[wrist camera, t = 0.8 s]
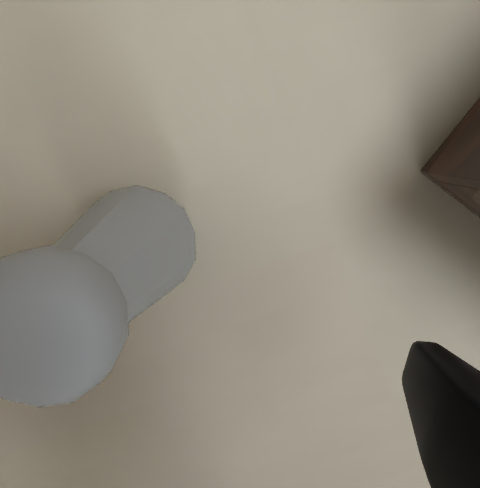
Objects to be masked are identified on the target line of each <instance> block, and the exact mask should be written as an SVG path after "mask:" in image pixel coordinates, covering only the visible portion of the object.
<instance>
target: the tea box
mask: <svg viewBox="0 0 480 488" xmlns="http://www.w3.org/2000/svg"><path fill="white" fill-rule="evenodd" d="M421 173H423V174H424V175H425V176H427V177H428V178H429V179H431V180H432V181H433V182H434V183H436V184H437V185H438V186H440V187H441V188H442V189H443V190H445V191H446V192H447V193H449V194H450V195H451V196H453V197H454V198H455V199H456V200H458V201H459V202H460V203H462V204H463V205H464V206H466V207H467V208H468V209H469V210H471V211H472V212H473V213H475V214H476V215H477V216H478V217H480V205H479V204H478V203H476V202H475V201H474V200H473V199H472V197H473V196H474V195H475V193H476V192H477V191H478V190H479V189H480V98H479V100H478V101H477V102H476V103H475V105H474V106H473V107H472V108H471V110H470V111H469V112H468V113H467V114H466V116H465V117H464V118H463V119H462V121H461V122H460V123H459V124H458V126H457V127H456V128H455V129H454V130H453V132H452V133H451V134H450V135H449V137H448V138H447V139H446V140H445V142H444V143H443V144H442V145H441V146H440V148H439V149H438V150H437V151H436V153H435V154H434V155H433V156H432V158H431V159H430V160H429V161H428V162H427V164H426V165H425V166H424V167H423V169H422V170H421Z"/></svg>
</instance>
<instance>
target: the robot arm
mask: <svg viewBox="0 0 480 488" xmlns="http://www.w3.org/2000/svg"><path fill="white" fill-rule="evenodd" d="M402 385H403V389H404V393H405V397H406V401H407V405H408V409H409V413H410V417H411V421H412V425H413V429H414V433H415V437H416V441H417V445H418V449H419V453H420V456H421V460H422V463H423V466H424V469H425V472H426V475H427V478H428V480H429V483H430V486H431V488H480V371H479V370H477V369H475V368H474V367H472V366H471V365H469V364H468V363H466V362H465V361H463V360H462V359H460V358H459V357H457V356H456V355H454V354H453V353H451V352H450V351H448V350H447V349H445V348H444V347H442V346H441V345H439V344H437V343H434V342H423V341H416V342H414V343H413V344H412V346H411V348H410V351H409V355H408V358H407V361H406V364H405V368H404V371H403V375H402Z"/></svg>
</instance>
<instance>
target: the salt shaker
mask: <svg viewBox="0 0 480 488" xmlns="http://www.w3.org/2000/svg"><path fill="white" fill-rule="evenodd" d="M195 259H196V251H195V231H194V229H193V227H192V225H191V222H190V220H189V218H188V216H187V214H186V211H185V209H184V208H182V207H181V206H180V205H179V204H177V203H176V202H175V201H174V200H172V199H171V198H170V197H169V196H167V195H166V194H165V193H162V192H159V191H155V190H152V189H148V188H144V187H141V186H132V187H127V188H123V189H118V190H113V191H110V192H109V193H108V194H106V195H105V196H104V197H102V198H101V199H100V200H99V201H97V202H96V203H95V204H94V205H92V206H91V207H90V208H89V209H88V210H87V211H86V212H85V213H84V214H83V215H82V216H81V217H80V218H79V219H78V220H77V222H76V223H75V224H74V225H73V226H72V227H71V228H70V229H69V230H68V231H67V232H66V233H65V234H64V235H63V236H62V237H61V238H60V239H59V240H58V241H57V242H56V243H55V244H54V245H53V246H52V245H49V246H44V247H39V248H34V249H29V250H24V251H19V252H16V253H13V254H10V255H7V256H5V257H3V258H1V259H0V397H1V398H2V399H5V400H9V401H13V402H18V403H22V404H27V405H31V406H35V407H40V408H41V407H47V406H54V405H60V404H67V403H73V402H74V401H76V400H77V399H78V398H80V397H81V396H83V395H84V394H85V393H87V392H88V391H89V390H91V389H92V388H94V387H95V386H96V385H98V384H99V383H100V382H101V381H102V380H103V379H104V378H105V377H106V376H107V375H108V374H109V373H110V372H111V370H112V368H113V366H114V364H115V362H116V360H117V358H118V356H119V354H120V352H121V350H122V348H123V346H124V344H125V342H126V340H127V338H128V336H129V329H128V322H129V321H131V320H132V319H134V318H135V317H136V316H138V315H139V314H140V313H142V312H143V311H144V310H146V309H147V308H148V307H150V306H151V305H152V304H154V303H155V302H156V301H158V300H159V299H160V298H162V297H163V296H164V295H166V294H167V293H168V292H170V291H171V290H172V289H174V288H175V287H176V286H178V285H179V284H180V283H182V282H183V281H184V280H185V278H186V276H187V274H188V272H189V270H190V269H191V267H192V265H193V263H194V261H195Z"/></svg>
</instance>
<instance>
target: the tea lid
mask: <svg viewBox="0 0 480 488" xmlns="http://www.w3.org/2000/svg"><path fill="white" fill-rule="evenodd" d="M472 199H473V200H474V201H475V202H476V203H478V204H479V205H480V189H479V190H478V191H477V192H476V193H475V195H474V196H473V197H472Z"/></svg>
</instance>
